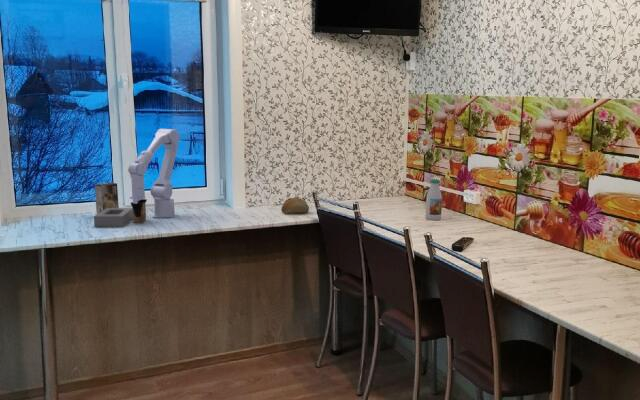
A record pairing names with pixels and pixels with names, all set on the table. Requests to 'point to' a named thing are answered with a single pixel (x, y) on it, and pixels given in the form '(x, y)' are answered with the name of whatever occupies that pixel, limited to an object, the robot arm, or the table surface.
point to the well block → (113, 217)
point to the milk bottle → (434, 201)
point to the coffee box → (106, 196)
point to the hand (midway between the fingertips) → (139, 215)
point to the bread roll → (295, 206)
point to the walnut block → (143, 215)
